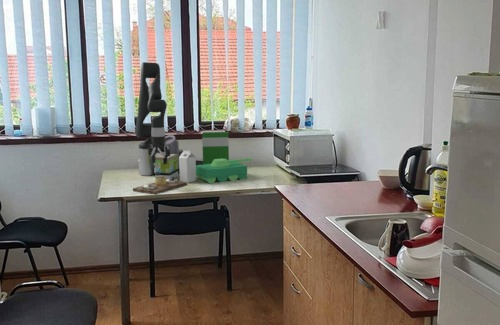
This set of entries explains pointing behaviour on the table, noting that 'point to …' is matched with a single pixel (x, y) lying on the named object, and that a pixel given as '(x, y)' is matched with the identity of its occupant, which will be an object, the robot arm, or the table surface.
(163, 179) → the brass ring gear
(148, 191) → the gear board
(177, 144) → the grey watering can
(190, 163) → the milk carton
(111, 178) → the table surface
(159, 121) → the robot arm
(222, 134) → the hardback book
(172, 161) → the tea box
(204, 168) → the toy tank
